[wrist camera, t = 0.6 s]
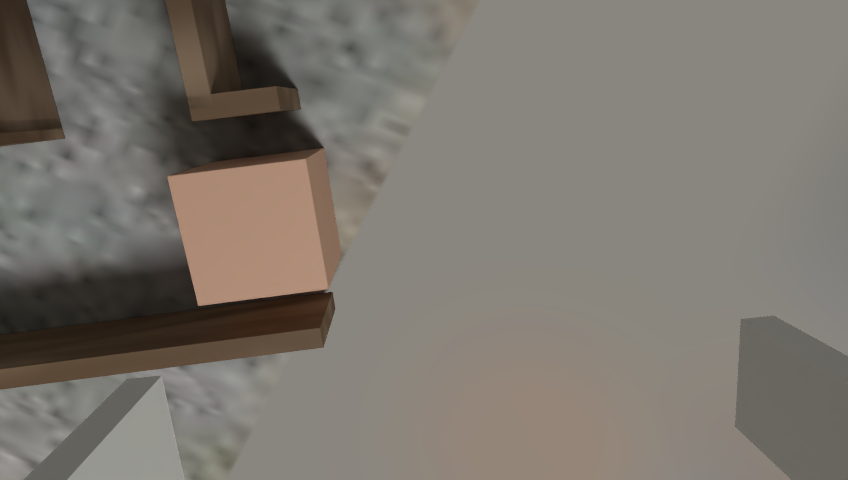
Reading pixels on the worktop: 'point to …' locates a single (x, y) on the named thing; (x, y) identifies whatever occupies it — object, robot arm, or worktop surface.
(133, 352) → the low walled maze tray
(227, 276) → the block
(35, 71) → the frame
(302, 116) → the worktop surface
